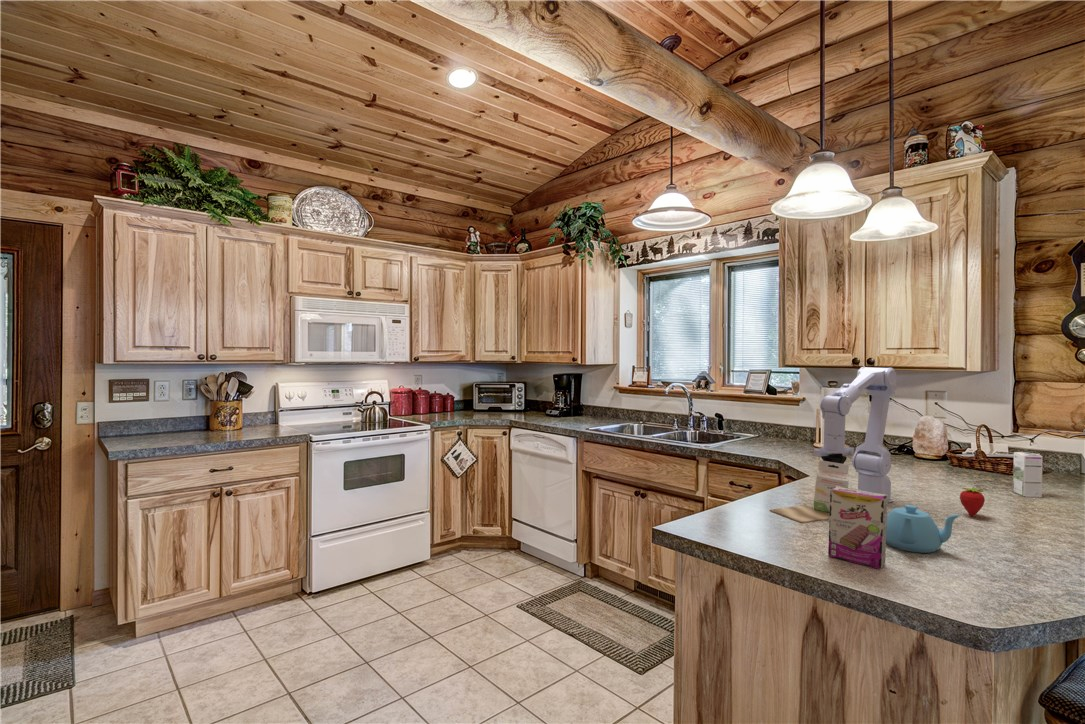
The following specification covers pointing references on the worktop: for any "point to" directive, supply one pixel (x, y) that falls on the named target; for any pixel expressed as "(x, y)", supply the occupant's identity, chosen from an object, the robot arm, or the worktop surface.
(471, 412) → the worktop surface
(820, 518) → the cork trivet
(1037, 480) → the syrup box
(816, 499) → the ink box
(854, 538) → the candy bar box
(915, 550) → the teapot
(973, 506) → the strawberry
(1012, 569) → the worktop surface
